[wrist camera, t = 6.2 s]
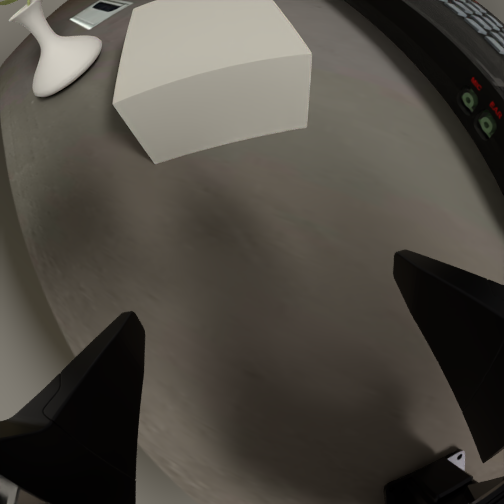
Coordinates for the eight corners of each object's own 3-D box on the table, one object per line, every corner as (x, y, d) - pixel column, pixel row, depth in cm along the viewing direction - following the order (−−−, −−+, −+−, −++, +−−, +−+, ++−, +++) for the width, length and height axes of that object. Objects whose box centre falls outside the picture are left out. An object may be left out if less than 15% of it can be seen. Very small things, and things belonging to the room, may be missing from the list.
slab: (306, 129, 21) (311, 53, 14) (156, 165, 21) (112, 104, 14) (260, 31, 25) (253, -22, 18) (155, 58, 26) (133, 8, 19)
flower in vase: (40, 117, 26) (-63, -4, 2) (39, 82, 29) (-37, -17, 5) (125, 55, 27) (50, -94, 3) (109, 32, 30) (50, -82, 6)
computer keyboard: (600, 210, 15) (625, 193, 9) (529, 277, 16) (580, 257, 9) (450, 5, 28) (457, -19, 22) (327, -9, 29) (328, -43, 22)
